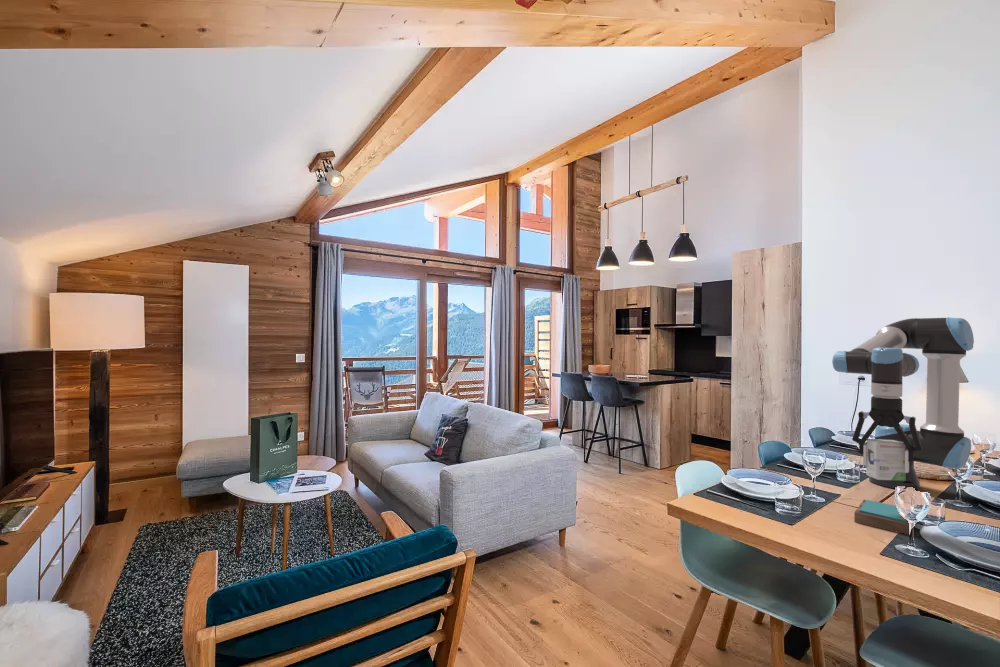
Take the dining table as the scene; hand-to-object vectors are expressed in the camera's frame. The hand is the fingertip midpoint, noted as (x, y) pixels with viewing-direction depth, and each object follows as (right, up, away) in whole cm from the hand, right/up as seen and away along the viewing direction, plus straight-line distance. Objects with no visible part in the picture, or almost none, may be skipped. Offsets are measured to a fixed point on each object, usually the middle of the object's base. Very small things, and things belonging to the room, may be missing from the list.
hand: (885, 468), depth 145 cm
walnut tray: (0, -17, 0) cm, 17 cm away
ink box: (0, -3, 0) cm, 3 cm away
